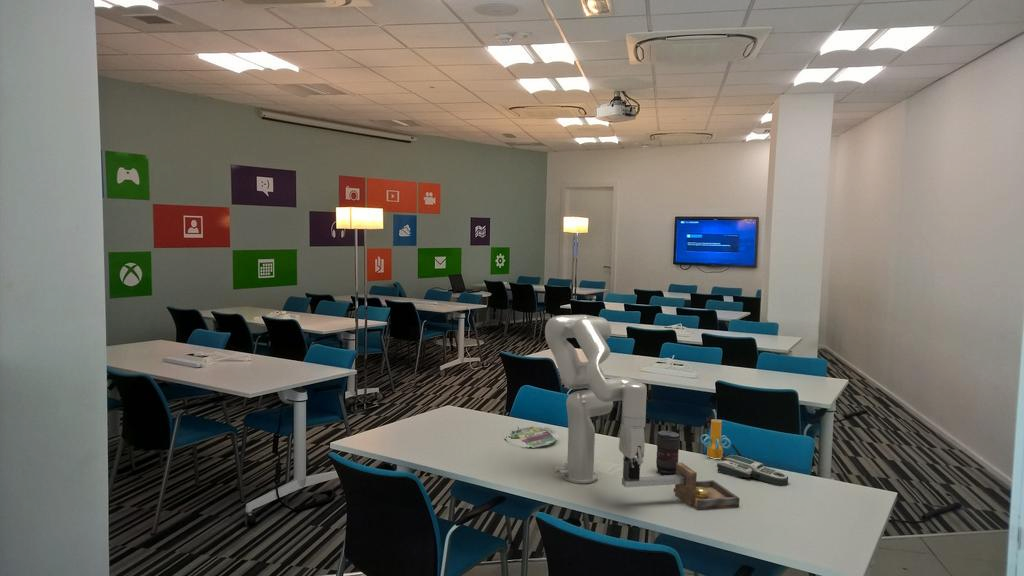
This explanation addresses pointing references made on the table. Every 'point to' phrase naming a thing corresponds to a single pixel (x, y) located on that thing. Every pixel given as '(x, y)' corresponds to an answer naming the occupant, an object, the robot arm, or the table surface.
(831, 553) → the table surface
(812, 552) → the table surface
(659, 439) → the camera lens
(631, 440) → the robot arm
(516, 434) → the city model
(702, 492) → the gold dome
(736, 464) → the communication device
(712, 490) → the guide frame
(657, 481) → the grey sliding bolt
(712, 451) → the orange vase with handles
